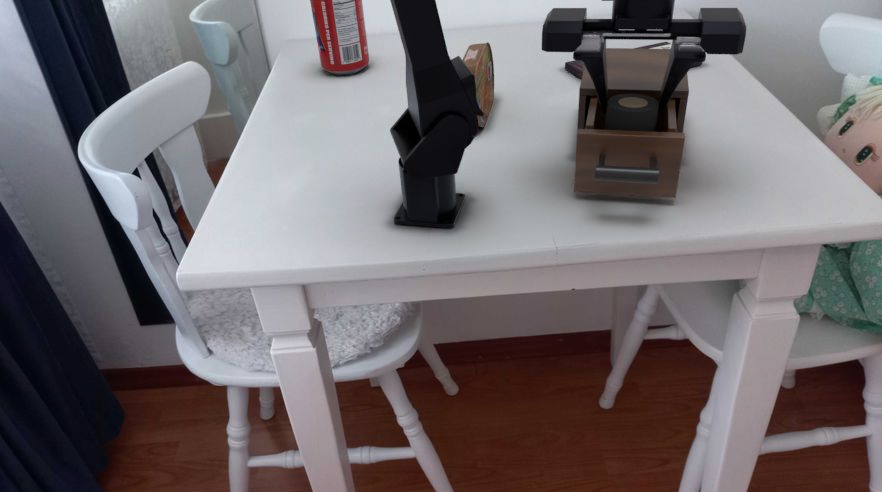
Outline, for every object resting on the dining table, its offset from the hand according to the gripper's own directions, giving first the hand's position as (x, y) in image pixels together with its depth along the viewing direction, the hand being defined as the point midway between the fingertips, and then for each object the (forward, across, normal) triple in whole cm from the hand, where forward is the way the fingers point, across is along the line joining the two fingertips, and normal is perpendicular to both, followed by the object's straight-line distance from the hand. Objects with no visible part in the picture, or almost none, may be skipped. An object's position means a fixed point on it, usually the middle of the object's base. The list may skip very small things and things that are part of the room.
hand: (631, 112), depth 73 cm
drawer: (+7, 0, +1) cm, 7 cm away
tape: (+2, 0, +1) cm, 2 cm away
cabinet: (+8, 0, -11) cm, 14 cm away
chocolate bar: (+8, 0, -35) cm, 36 cm away
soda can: (+8, +45, -32) cm, 56 cm away
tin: (+8, +20, -16) cm, 27 cm away
